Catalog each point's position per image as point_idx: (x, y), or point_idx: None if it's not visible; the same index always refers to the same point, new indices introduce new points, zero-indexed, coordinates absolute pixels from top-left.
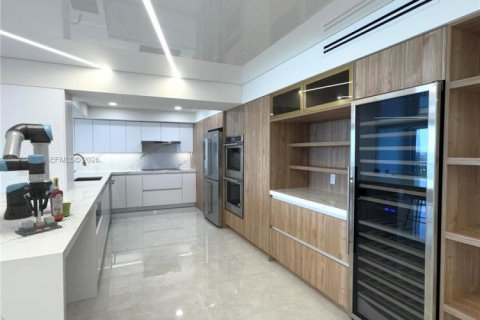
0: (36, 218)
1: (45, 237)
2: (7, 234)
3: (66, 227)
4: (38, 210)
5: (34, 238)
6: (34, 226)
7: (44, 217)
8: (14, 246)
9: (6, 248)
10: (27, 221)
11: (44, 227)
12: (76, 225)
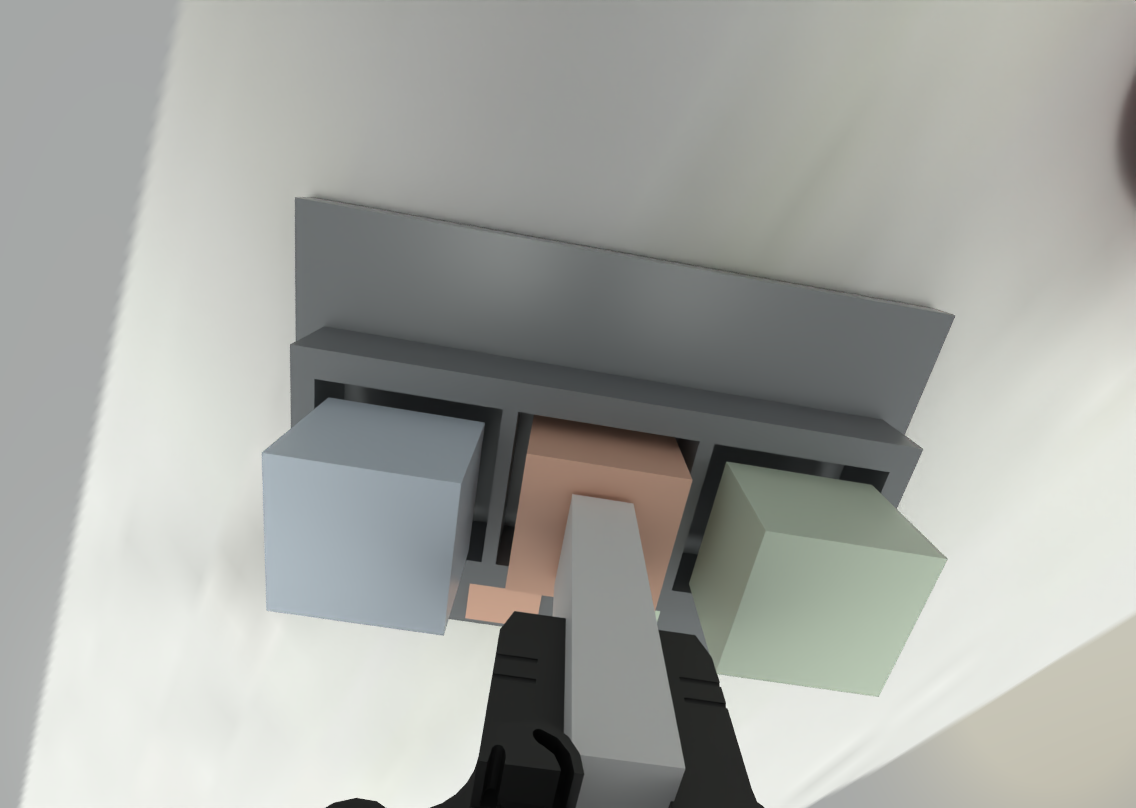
0: (568, 568)
1: (427, 800)
2: (193, 186)
3: None
4: (666, 772)
5: (345, 736)
6: (491, 532)
7: (776, 545)
8: (114, 787)
9: (44, 776)
10: (357, 543)
11: None
12: (935, 722)
